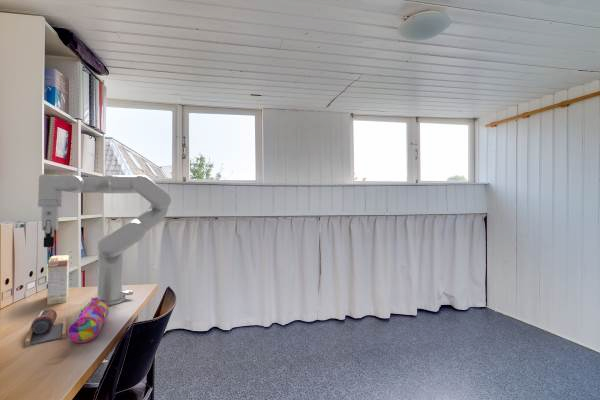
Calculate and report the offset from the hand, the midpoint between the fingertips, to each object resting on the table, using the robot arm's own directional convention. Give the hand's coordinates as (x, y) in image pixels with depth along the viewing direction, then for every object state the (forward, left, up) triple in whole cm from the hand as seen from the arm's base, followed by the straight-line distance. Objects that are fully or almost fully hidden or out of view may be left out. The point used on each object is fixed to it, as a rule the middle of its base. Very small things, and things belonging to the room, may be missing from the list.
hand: (48, 246), depth 121 cm
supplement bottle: (-1, +19, -24) cm, 30 cm away
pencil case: (-14, +33, -28) cm, 45 cm away
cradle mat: (-2, +28, -27) cm, 39 cm away
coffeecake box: (-3, -16, -27) cm, 32 cm away
